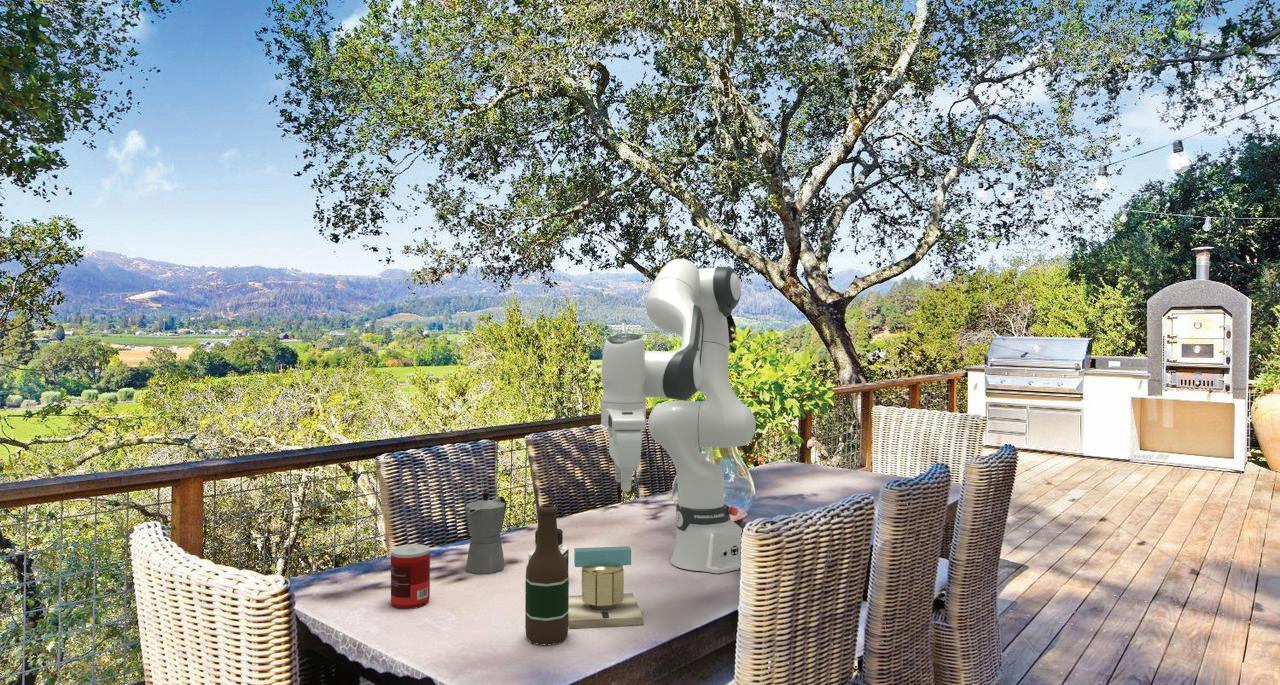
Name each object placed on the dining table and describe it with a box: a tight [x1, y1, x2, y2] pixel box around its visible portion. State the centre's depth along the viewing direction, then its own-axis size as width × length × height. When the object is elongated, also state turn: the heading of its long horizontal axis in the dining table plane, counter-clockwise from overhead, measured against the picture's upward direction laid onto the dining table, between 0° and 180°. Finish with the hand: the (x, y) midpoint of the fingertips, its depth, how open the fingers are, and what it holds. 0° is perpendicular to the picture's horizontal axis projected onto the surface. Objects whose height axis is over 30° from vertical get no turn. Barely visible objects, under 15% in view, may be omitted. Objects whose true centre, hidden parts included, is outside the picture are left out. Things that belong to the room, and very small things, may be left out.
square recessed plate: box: [568, 592, 644, 629], centre depth 156 cm, size 14×14×6 cm
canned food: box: [390, 543, 431, 610], centre depth 162 cm, size 8×8×11 cm
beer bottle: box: [524, 504, 570, 646], centre depth 144 cm, size 8×8×24 cm
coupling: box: [573, 546, 632, 606], centre depth 156 cm, size 8×11×10 cm
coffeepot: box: [465, 491, 507, 575], centre depth 186 cm, size 15×9×18 cm, turn 159°
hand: (622, 486), depth 157 cm, fingers open, 8 cm apart
